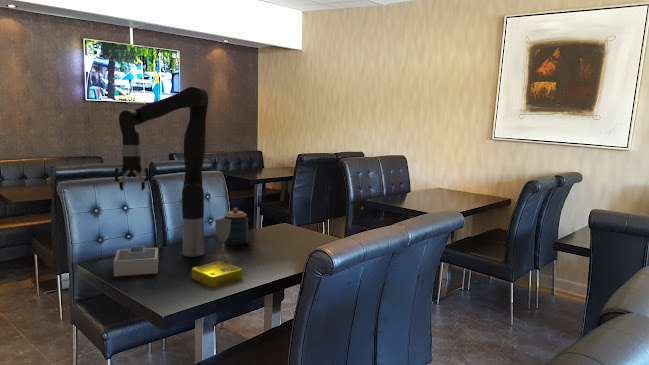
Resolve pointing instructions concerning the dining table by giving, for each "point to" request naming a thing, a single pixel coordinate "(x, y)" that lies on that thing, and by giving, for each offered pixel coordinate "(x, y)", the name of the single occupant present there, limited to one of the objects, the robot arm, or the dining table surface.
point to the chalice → (223, 235)
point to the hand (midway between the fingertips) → (132, 190)
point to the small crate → (136, 253)
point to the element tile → (216, 273)
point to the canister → (237, 227)
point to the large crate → (135, 263)
